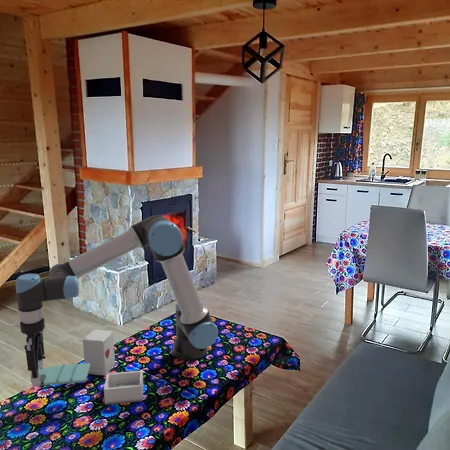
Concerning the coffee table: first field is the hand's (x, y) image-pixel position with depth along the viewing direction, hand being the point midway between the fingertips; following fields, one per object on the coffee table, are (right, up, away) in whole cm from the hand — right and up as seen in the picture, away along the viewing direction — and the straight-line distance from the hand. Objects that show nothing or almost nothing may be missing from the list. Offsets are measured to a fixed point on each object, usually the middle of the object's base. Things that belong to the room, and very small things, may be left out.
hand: (38, 380), depth 148 cm
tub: (+29, -7, +6) cm, 30 cm away
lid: (+7, +1, +1) cm, 8 cm away
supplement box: (+15, -4, +23) cm, 28 cm away
